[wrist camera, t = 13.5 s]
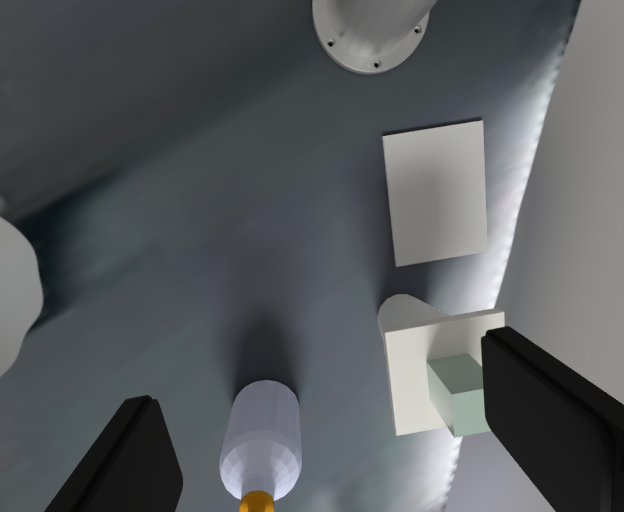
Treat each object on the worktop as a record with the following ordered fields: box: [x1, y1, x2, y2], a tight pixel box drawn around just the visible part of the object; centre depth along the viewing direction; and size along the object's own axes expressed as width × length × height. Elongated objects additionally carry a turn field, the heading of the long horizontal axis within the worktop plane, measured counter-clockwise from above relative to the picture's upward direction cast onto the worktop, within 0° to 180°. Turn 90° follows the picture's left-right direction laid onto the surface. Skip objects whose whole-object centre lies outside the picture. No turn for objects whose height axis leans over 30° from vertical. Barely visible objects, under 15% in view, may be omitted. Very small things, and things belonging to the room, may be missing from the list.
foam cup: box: [377, 294, 449, 338], centre depth 39 cm, size 10×9×13 cm
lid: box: [382, 308, 504, 438], centre depth 30 cm, size 11×11×6 cm
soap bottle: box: [220, 380, 302, 512], centre depth 35 cm, size 9×9×25 cm
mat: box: [382, 120, 488, 267], centre depth 42 cm, size 16×12×1 cm
